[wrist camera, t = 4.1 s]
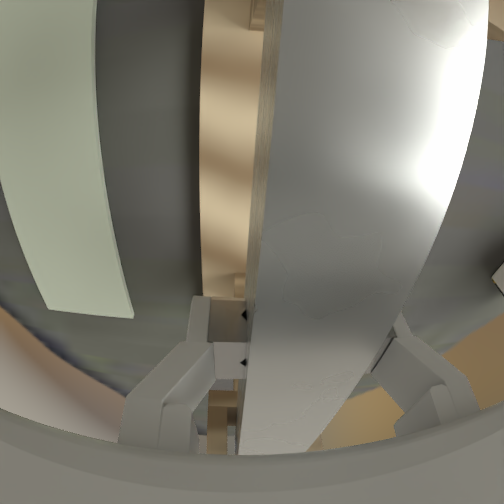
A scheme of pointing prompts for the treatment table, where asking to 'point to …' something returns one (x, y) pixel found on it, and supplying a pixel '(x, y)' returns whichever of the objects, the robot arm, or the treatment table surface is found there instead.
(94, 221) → the sage mat
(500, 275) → the medicine bottle
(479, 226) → the treatment table surface
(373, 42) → the aluminium rail
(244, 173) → the hook rack
